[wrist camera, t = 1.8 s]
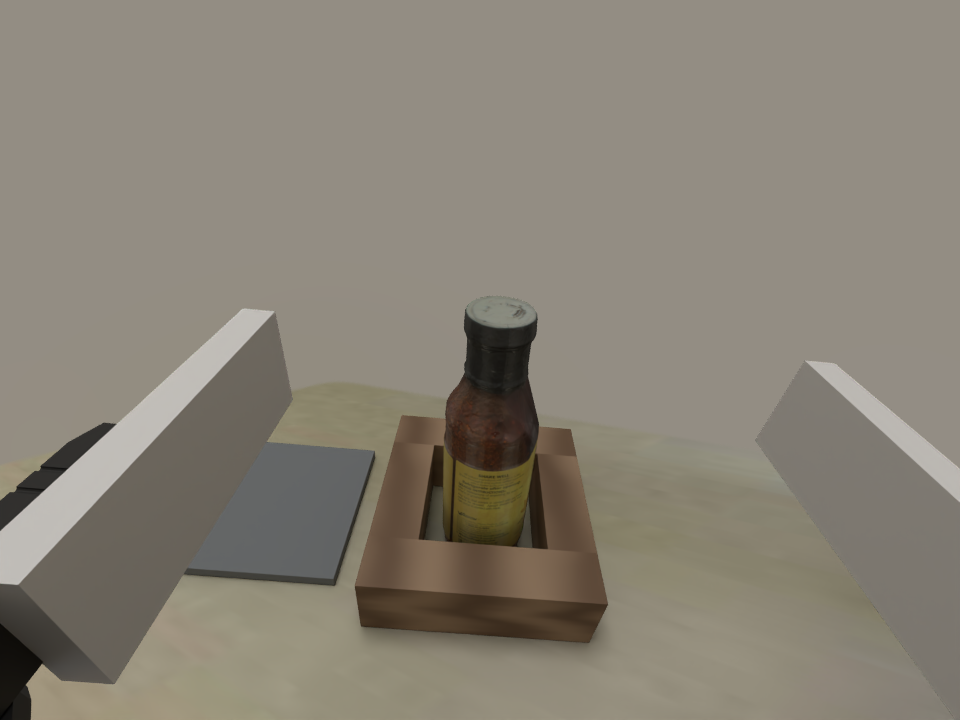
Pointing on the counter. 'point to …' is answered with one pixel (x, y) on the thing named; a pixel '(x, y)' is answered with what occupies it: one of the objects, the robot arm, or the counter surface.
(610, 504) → the counter surface
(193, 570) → the mat
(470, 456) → the sauce bottle
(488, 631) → the rectangular frame
